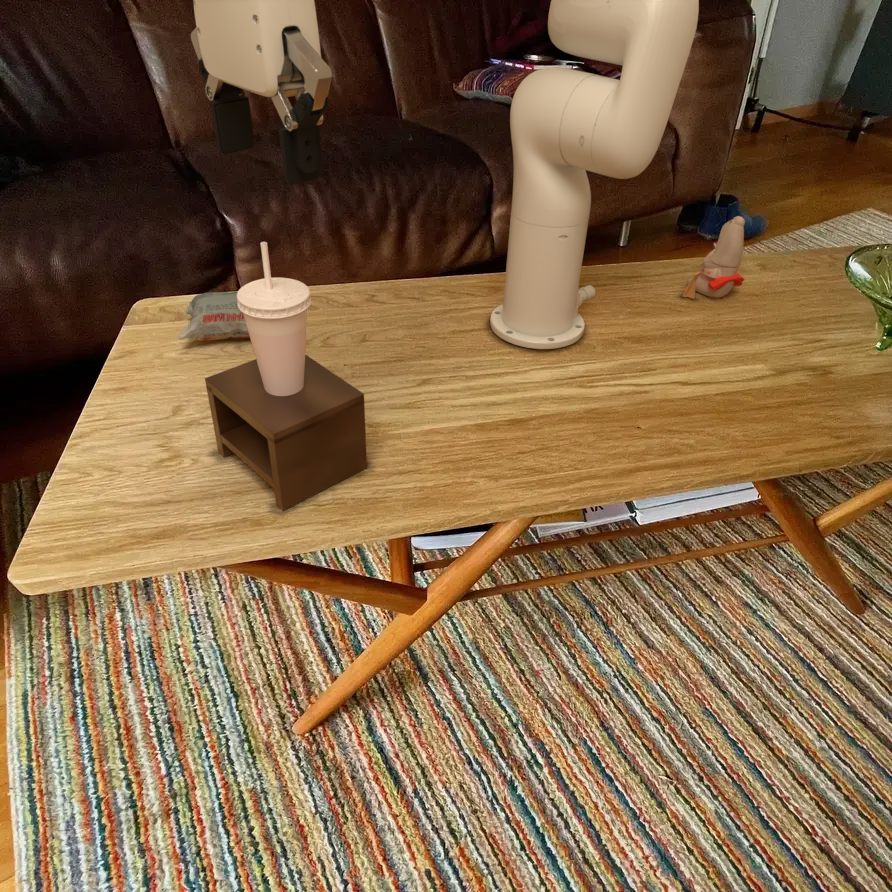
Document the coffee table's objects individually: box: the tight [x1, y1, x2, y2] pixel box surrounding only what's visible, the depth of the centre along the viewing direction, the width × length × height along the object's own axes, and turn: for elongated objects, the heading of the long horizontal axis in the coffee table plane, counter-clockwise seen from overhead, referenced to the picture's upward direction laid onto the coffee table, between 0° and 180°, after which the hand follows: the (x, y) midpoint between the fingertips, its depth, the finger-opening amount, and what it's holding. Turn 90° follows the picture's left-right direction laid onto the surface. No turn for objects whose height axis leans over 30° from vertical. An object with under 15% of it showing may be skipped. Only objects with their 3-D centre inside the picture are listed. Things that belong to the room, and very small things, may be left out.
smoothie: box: [236, 241, 312, 396], centre depth 68 cm, size 6×6×14 cm
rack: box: [204, 353, 368, 512], centre depth 75 cm, size 10×12×9 cm
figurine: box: [681, 215, 746, 300], centre depth 109 cm, size 9×7×12 cm
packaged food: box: [178, 291, 250, 342], centre depth 97 cm, size 9×12×5 cm
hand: (269, 164), depth 61 cm, fingers open, 9 cm apart
